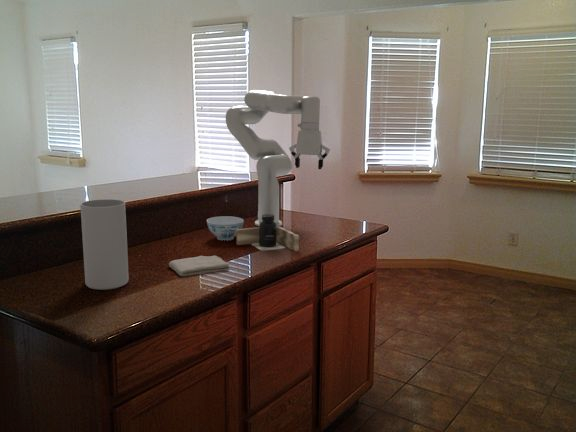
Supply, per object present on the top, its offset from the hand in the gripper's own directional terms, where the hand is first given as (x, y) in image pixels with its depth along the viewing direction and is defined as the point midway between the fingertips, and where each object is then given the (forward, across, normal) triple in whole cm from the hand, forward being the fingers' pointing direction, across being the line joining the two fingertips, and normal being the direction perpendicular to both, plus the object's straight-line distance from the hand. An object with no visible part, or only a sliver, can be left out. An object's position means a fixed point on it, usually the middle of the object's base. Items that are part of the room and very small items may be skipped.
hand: (308, 168), depth 221 cm
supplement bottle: (+28, -9, -25) cm, 39 cm away
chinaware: (+28, -29, -20) cm, 46 cm away
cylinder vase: (+28, -40, -83) cm, 97 cm away
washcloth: (+29, -20, -60) cm, 69 cm away
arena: (+28, -9, -27) cm, 40 cm away
